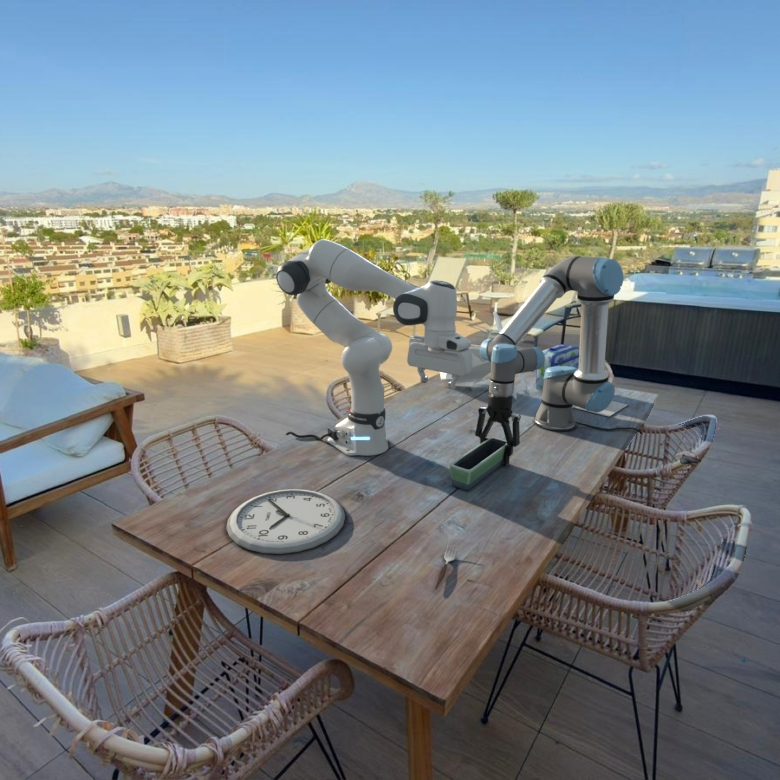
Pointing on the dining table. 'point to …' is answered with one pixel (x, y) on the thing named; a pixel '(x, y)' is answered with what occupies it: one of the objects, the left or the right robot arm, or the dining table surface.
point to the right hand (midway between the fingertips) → (495, 460)
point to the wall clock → (285, 521)
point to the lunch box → (557, 360)
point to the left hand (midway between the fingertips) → (437, 385)
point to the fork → (448, 558)
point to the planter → (477, 463)
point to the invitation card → (608, 408)
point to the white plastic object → (482, 367)
